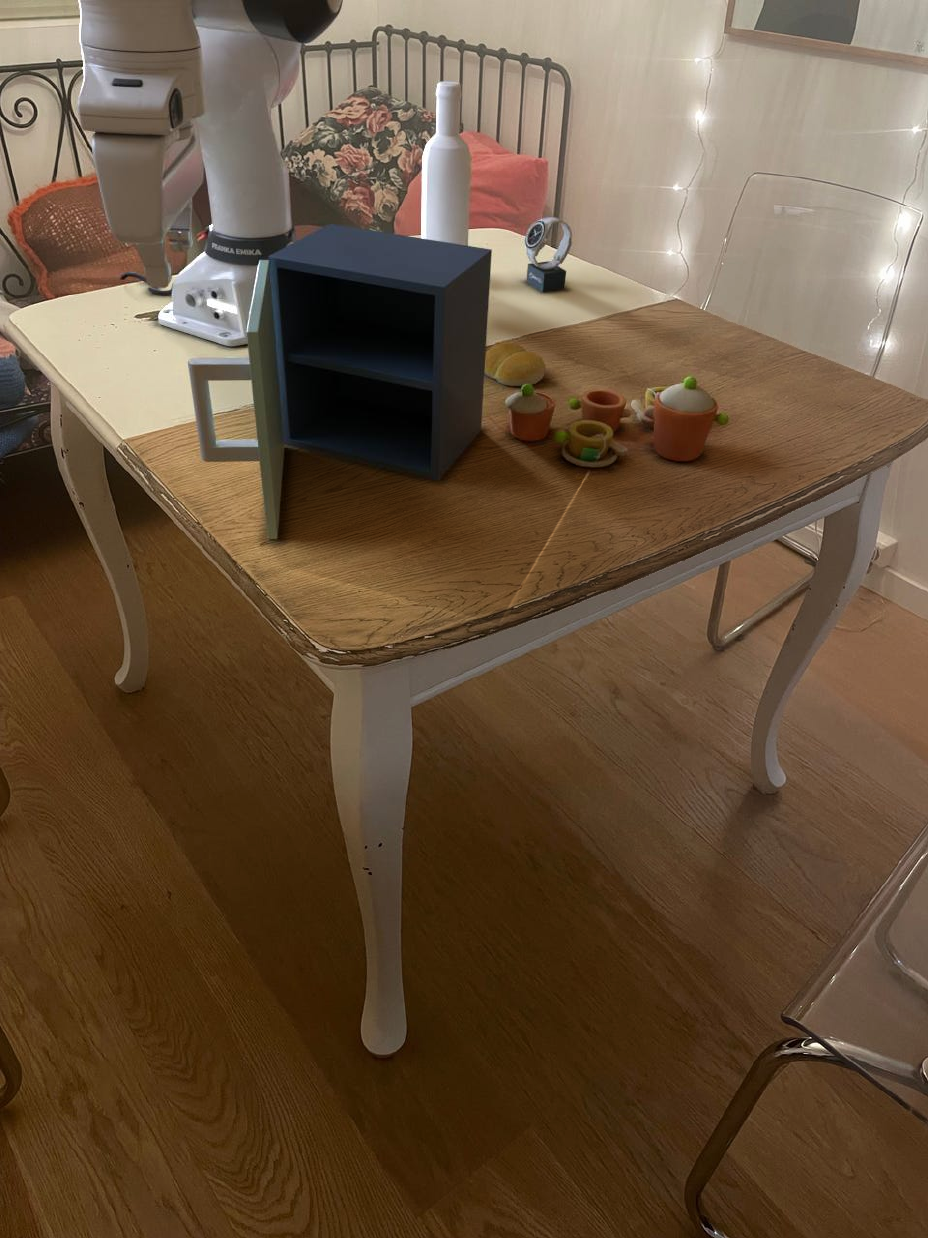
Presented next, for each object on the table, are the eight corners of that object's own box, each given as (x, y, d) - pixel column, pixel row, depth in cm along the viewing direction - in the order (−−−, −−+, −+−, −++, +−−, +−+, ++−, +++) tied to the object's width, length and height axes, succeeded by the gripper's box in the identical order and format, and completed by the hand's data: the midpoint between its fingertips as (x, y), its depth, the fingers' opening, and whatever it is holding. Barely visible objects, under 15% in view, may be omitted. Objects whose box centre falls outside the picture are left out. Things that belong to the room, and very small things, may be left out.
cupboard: (438, 481, 107) (444, 287, 93) (283, 445, 112) (267, 256, 98) (481, 430, 117) (491, 249, 104) (337, 399, 122) (330, 223, 109)
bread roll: (514, 393, 126) (517, 365, 124) (471, 371, 132) (472, 343, 129) (558, 378, 131) (561, 351, 128) (514, 357, 136) (516, 330, 133)
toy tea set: (679, 406, 125) (693, 336, 119) (733, 462, 113) (752, 387, 108) (491, 421, 119) (496, 348, 114) (528, 481, 108) (535, 403, 102)
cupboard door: (209, 541, 95) (178, 331, 82) (226, 447, 111) (202, 259, 97) (277, 539, 96) (257, 331, 82) (284, 446, 111) (269, 259, 98)
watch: (516, 283, 162) (521, 216, 155) (556, 278, 165) (562, 212, 158) (532, 293, 158) (538, 225, 151) (573, 288, 161) (580, 221, 154)
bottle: (476, 283, 161) (486, 84, 142) (445, 294, 156) (451, 88, 137) (441, 272, 165) (447, 76, 146) (410, 282, 160) (412, 81, 141)
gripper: (136, 64, 81) (159, 230, 90) (69, 109, 65) (105, 306, 74) (210, 68, 82) (226, 232, 90) (161, 114, 66) (186, 309, 74)
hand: (171, 266), depth 82 cm, fingers open, 8 cm apart
